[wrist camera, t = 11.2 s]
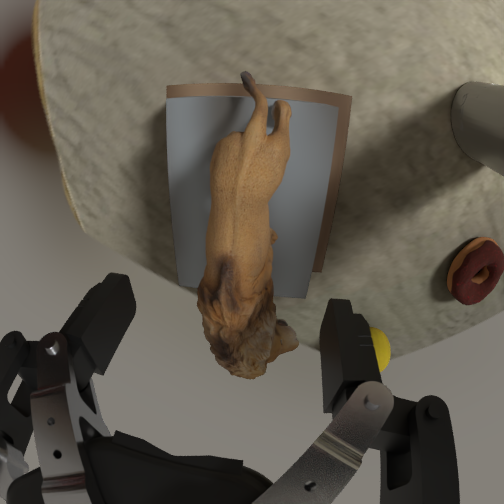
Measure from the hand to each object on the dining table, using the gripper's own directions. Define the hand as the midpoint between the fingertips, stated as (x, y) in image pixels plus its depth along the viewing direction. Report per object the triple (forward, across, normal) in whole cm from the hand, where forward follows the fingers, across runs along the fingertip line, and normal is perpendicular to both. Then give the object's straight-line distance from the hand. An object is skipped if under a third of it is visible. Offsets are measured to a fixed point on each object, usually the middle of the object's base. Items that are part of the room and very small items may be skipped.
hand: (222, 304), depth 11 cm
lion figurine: (+9, -1, -1) cm, 9 cm away
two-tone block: (+18, 0, 0) cm, 19 cm away
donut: (+19, -30, +8) cm, 37 cm away
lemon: (+19, -16, +21) cm, 33 cm away
